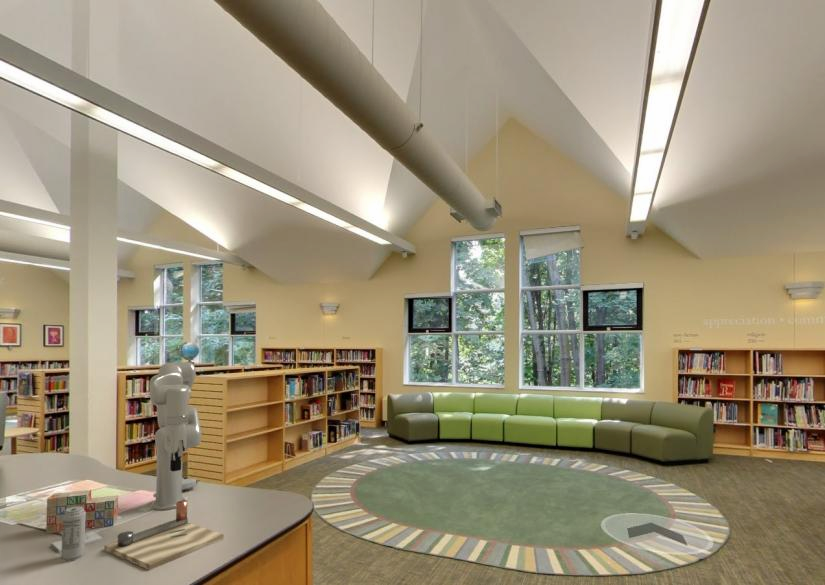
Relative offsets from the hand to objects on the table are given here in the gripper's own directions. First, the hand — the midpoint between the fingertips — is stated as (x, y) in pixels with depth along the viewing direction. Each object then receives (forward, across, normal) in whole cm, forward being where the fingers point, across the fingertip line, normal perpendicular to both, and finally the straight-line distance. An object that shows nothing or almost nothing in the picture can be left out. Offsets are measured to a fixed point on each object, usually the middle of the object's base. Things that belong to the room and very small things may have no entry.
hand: (175, 470), depth 189 cm
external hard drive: (+20, -5, -30) cm, 36 cm away
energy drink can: (+19, +7, -33) cm, 39 cm away
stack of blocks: (+20, -20, -25) cm, 38 cm away
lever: (+17, +10, -10) cm, 22 cm away
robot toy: (+20, -40, +16) cm, 47 cm away
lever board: (+19, +18, -9) cm, 27 cm away
